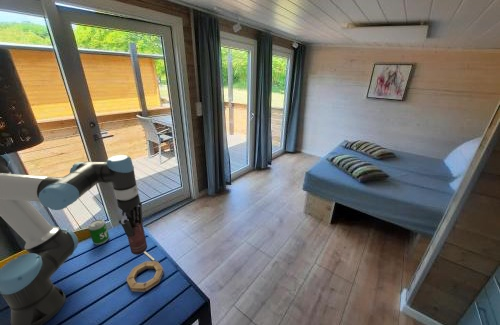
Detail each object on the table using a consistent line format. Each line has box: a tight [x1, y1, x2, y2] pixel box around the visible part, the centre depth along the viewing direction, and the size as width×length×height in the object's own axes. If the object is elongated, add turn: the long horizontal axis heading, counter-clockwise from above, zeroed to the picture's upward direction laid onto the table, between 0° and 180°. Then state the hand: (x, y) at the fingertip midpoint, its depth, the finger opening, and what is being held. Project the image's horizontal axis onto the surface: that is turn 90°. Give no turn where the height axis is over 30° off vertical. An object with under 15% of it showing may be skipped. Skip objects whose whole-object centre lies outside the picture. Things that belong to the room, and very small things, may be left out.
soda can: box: [87, 219, 110, 245], centre depth 114 cm, size 8×8×12 cm
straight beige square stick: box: [142, 250, 156, 261], centre depth 107 cm, size 10×1×1 cm, turn 54°
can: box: [126, 220, 148, 256], centre depth 87 cm, size 6×6×14 cm
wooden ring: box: [126, 260, 164, 293], centre depth 96 cm, size 14×14×2 cm
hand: (138, 243), depth 89 cm, fingers closed
